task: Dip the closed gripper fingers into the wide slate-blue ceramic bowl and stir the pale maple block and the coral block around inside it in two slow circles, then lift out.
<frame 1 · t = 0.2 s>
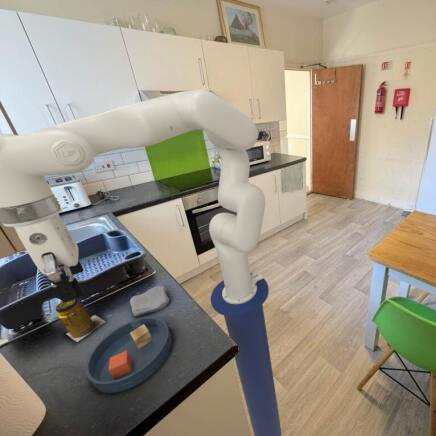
hand: (74, 285, 49), 33 cm above the counter, tool pointing down, fingers open, 9 cm apart
stone block: (151, 305, 87), on the counter
maple block: (143, 340, 73), resting on bowl
coral block: (123, 369, 65), resting on bowl
bowl: (134, 354, 70), on the counter
condiment: (86, 328, 79), on the counter
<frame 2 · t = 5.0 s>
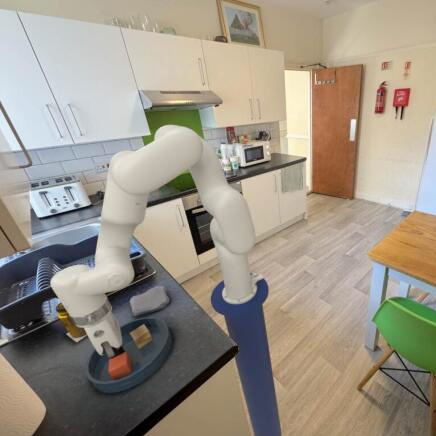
hand: (119, 357, 67), 2 cm above the counter, tool pointing down, fingers closed
coral block: (123, 370, 65), point 1 cm above the counter, touching bowl, gripper
everything else where it was.
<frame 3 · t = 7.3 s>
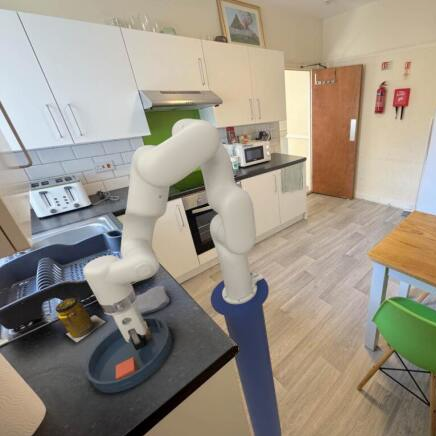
hand: (141, 345, 70), 2 cm above the counter, tool pointing down, fingers closed
maple block: (143, 336, 74), point 1 cm above the counter, touching bowl, gripper
coral block: (130, 376, 64), point 1 cm above the counter, touching bowl
everything else where it was.
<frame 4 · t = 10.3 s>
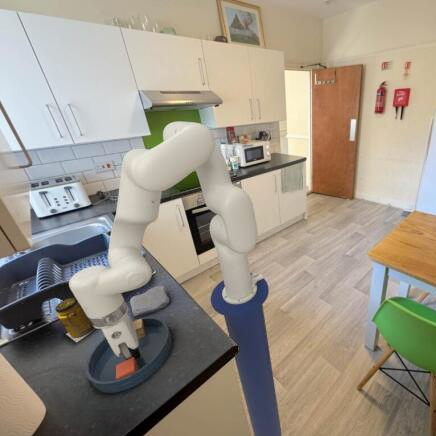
hand: (134, 358, 67), 1 cm above the counter, tool pointing down, fingers closed
maple block: (138, 334, 75), point 1 cm above the counter, touching bowl
everything else where it was.
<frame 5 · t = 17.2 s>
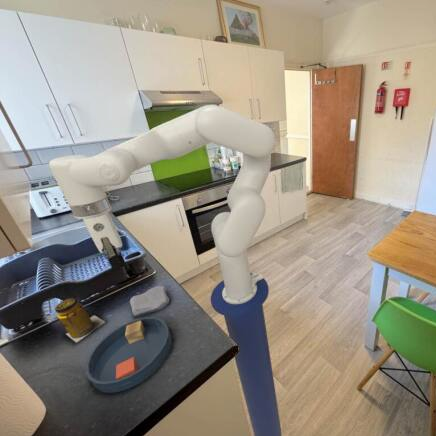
hand: (119, 266, 67), 25 cm above the counter, tool pointing down, fingers closed
nothing on the counter moved.
at the end: maple block inside the target area in the bowl (6.4 cm from its centre), point 0.5 cm above the bowl's base; coral block inside the target area in the bowl (7.0 cm from its centre), point 0.5 cm above the bowl's base; maple block moved 3.3 cm from its start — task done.
